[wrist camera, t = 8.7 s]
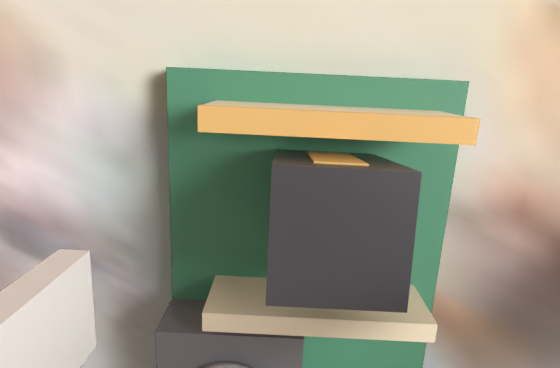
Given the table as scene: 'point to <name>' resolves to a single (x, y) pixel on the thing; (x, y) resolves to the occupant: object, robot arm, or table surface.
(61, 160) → the table surface
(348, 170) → the plug
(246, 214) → the board
